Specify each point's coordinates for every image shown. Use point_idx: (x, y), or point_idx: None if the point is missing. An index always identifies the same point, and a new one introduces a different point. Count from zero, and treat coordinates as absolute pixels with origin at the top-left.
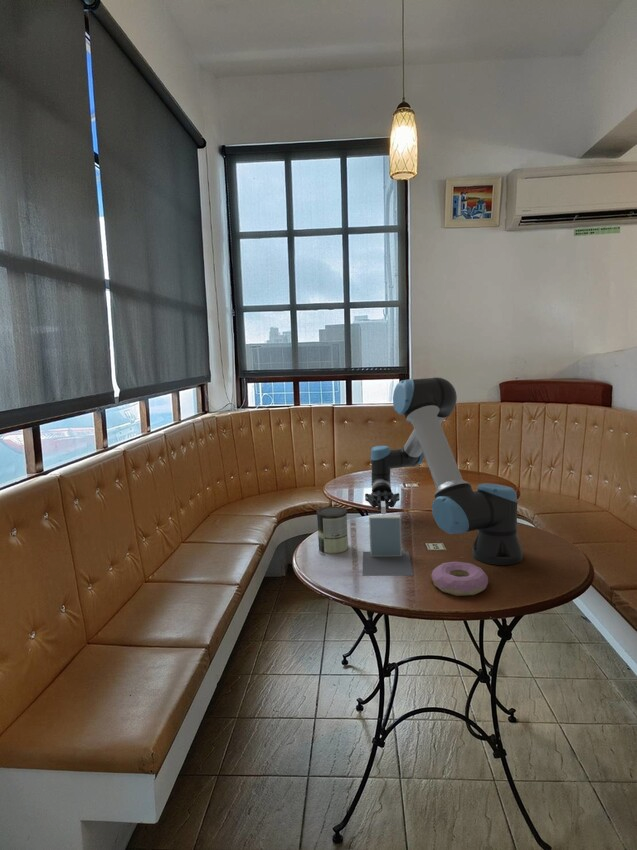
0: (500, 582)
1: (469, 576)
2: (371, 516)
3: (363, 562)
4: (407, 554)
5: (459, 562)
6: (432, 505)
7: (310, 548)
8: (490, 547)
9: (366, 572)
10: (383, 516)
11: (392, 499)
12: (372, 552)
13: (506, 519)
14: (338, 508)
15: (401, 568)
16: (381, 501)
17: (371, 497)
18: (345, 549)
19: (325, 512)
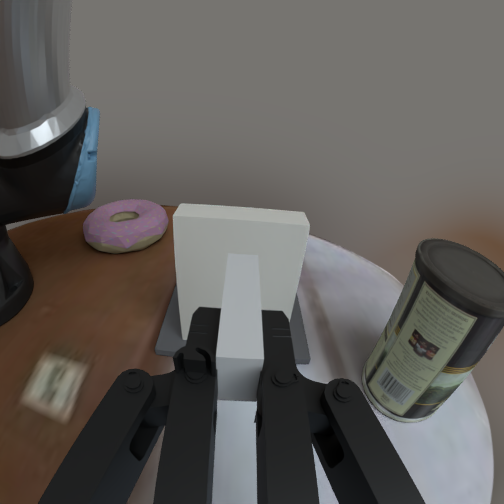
0: (68, 237)
1: (122, 203)
2: (297, 217)
3: (296, 299)
4: (166, 329)
5: (105, 223)
6: (97, 141)
7: (462, 384)
8: (16, 248)
9: None
10: (247, 212)
11: (114, 406)
12: None
13: None
14: (476, 293)
15: None
16: (256, 345)
17: (397, 495)
18: (368, 361)
19: (477, 263)
